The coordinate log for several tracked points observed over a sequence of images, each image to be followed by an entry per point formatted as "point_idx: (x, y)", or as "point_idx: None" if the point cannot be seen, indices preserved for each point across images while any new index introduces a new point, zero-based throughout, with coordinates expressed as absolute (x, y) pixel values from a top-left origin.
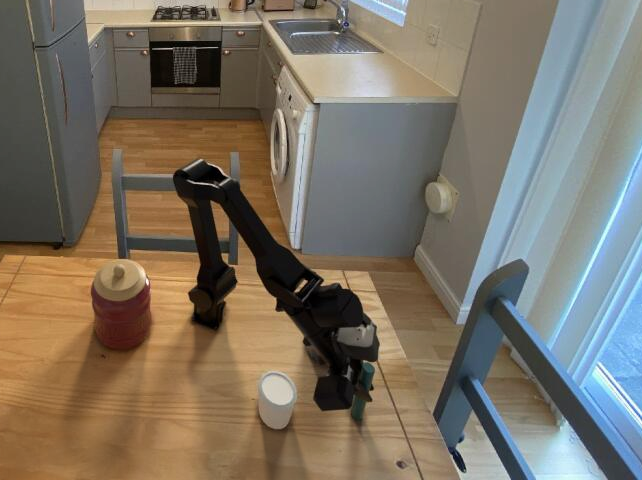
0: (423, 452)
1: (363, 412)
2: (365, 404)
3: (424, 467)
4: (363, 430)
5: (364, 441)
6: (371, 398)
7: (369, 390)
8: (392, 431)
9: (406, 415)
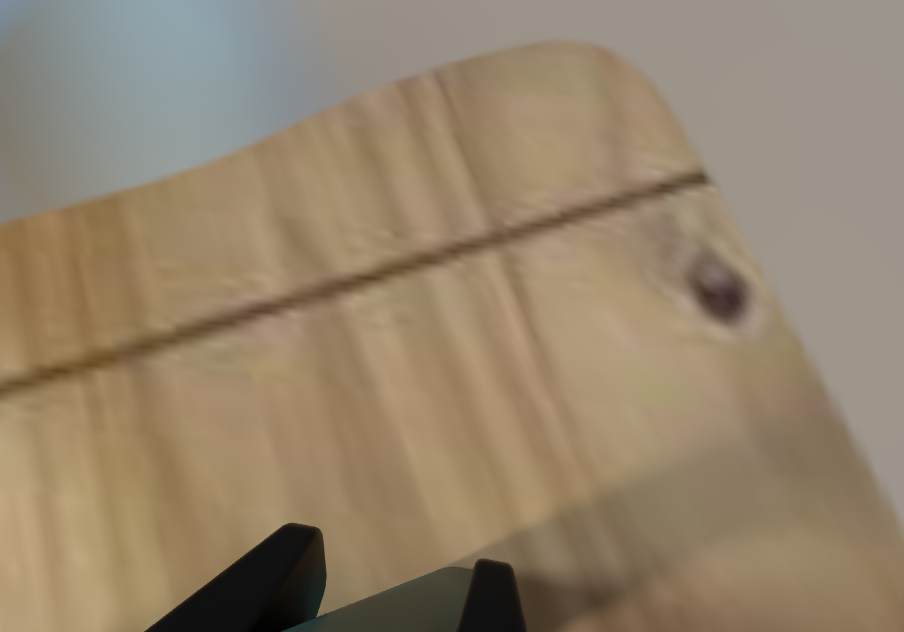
0: (559, 141)
1: (467, 580)
2: (454, 596)
3: (664, 143)
4: (575, 563)
5: (668, 561)
6: (485, 583)
7: (390, 629)
8: (490, 332)
9: (329, 228)
